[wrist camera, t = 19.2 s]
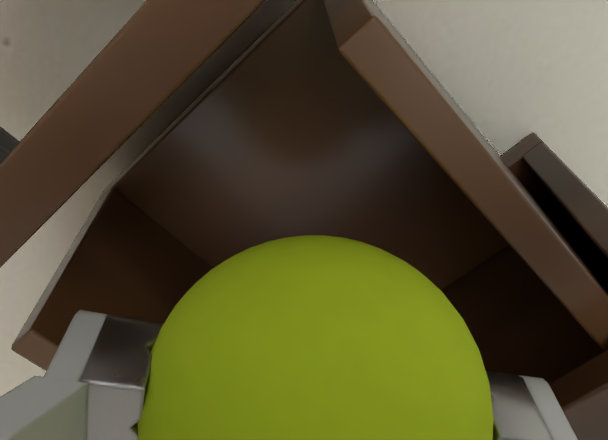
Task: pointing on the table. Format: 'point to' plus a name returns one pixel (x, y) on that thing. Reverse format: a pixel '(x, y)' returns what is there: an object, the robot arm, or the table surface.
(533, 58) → the table surface
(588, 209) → the cabinet
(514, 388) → the robot arm
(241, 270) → the ball
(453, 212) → the drawer
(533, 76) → the table surface
